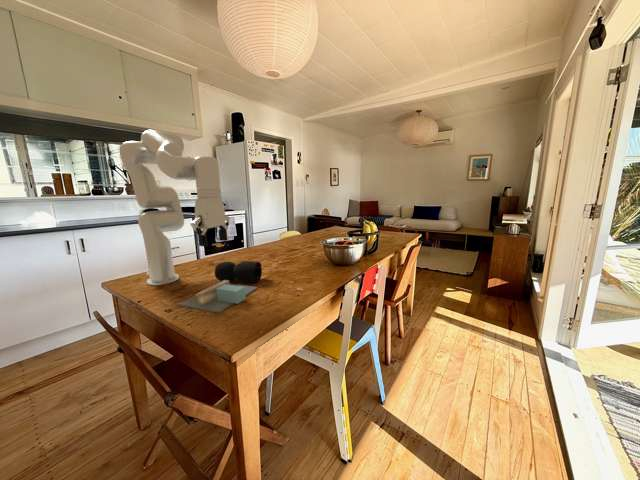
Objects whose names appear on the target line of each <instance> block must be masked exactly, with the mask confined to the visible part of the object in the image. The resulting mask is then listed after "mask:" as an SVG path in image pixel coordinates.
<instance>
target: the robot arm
mask: <svg viewBox="0 0 640 480" xmlns="http://www.w3.org/2000/svg"><path fill="white" fill-rule="evenodd" d="M184 150H185V143H184V141H183V138H182V137H181V136H180V135H179V134H177V133H173V132H168V131H163V130H157V129H147V130H145V131H144V132H142V133H141V136H140V141H136V140H129V141H125V142H122V144H120V148H119V155H120V160H121V162H122V164H123V167H124V168H125V170H126V172H127V173H128V175H129V178H130V181H131V184H132V188H133V191H134V195H135V199H136V201H137V204H138V206H139V207H141V208H142V209H159V208H161V209H162V208H163V210H151V211H150V210H149V211H145V212H143V213H141V214H140V215H139V216H138V218H137V219H138V220H137V222H138V226H139V228H140V233H141V234H142V238H143V243H144V248H145V253H146V259H147V264H148V272H145V275H146V276H149V278H148V279H147V280H146V285H149V286H161V285H162V286H163V285H168V284H171V283H173V282H176V281H177V280H179V279H180V276H179V274H177V273H175V265H174V259H173V252H172V245H171V241H170V239H169V238H168V237H167V236H166V235H165V234H164V233H166V232H171V231H180V230H181V229H183V227H184V225H185V218H184V213H183V210H182V206H181V201H180V198H179V195H178V192H177V191H176V190H175V188H173V187H171V186H167V185H164V186H163V185H162V186H161V185H160V186H159V185H158V184H157V182H156V179H155V175H154V174H153V172H152V171H151V170H150V169H149V168H148V167H147V166H145V165H144V164H148V165H149V164H150V165H157V166H158V169H159V170H160V171H161V172H162V173H163V174H164V175H166V176H167V177H169V178H171V179H173V180H178V181H179V180H181V181H182V180H183V181H185V180H186V181H187V180H190V181H191V180H192V181H195V187H196V195H197V198H196V199H195V203H194V220H193V221H191V222H190V227H191V228H192V229H193V230H192V231H193V232H194V233H195V234H196V235H197V237H198V245H199V247H208V246H209V245H208V244H209V242H208V235H207V234H206V232H207V231H208V229H212V228H218V239H219V241H225V242H226V241H228V233H227V231H228V229H229V228H228V227H229V226H230V223H229V222H230V219H231V217H230V216H229V215H227V214H226V212H225V211H226V210H225V206H224V205H225V204H224V202H223V198H222V190H221V181H220V179H221V178H220V167H219V161H218V159H217V158H216V157H213V156H197V157H189V156H188V157H187V156H183V152H184ZM164 208H165V209H164Z"/></svg>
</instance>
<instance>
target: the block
mask: <svg viewBox="0 0 640 480" xmlns="http://www.w3.org/2000/svg"><path fill="white" fill-rule="evenodd" d="M216 291H217V300H218V301H224V302H230V303H234V304H236V305H237V304H240V303H242V302H243V301H245V300H246V298H247V296H245V287H241V286H234V285H226V284H225V285H223V286H221V287H219V288H217V289H216Z"/></svg>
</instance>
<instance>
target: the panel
mask: <svg viewBox="0 0 640 480" xmlns="http://www.w3.org/2000/svg"><path fill="white" fill-rule="evenodd" d="M230 285H234V286H241V287H245V296H246V297H247V296H248V295H250V294H251V293H253V292H254V291H256V290H258V288H259V287H258V286H251V285H244V284H236V283H230ZM234 304H235V303H230V302H224V301H218V300H217V298H215V299H213V300H212V301H210V302H208V303H206V304H205V305H199V304H198V303H197V295H194V296H192V297H190V298H188V299H186V300H184V301H181V302H179V303H178V306H179V307H184V308H189V309H195V310H200V311H206V312H209V313H210V312H211V313H216V314H220V313H222V312H223V311H225V310H226V309H228V308H230V307H231V306H233V305H234Z"/></svg>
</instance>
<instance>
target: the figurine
mask: <svg viewBox="0 0 640 480" xmlns="http://www.w3.org/2000/svg"><path fill="white" fill-rule="evenodd" d="M262 270H263V269H262V263H261V262H260V261H252V260H251V261H247V260H245V261H241V262H238V263H237V264H236V263H235V262H232V261H222V262H219V263H218V264H217V265H216V266H215V268H214V276H215V279H217V280H218V281H219V282H221V281H223V280H228V281H229V283H230V282H233V281H235V280H236V281H238V282H240V283H245V284H246V283H247V284H248V283H249V284H251V283H257V282H260V281H261V279H262V275H263V274H262Z"/></svg>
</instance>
